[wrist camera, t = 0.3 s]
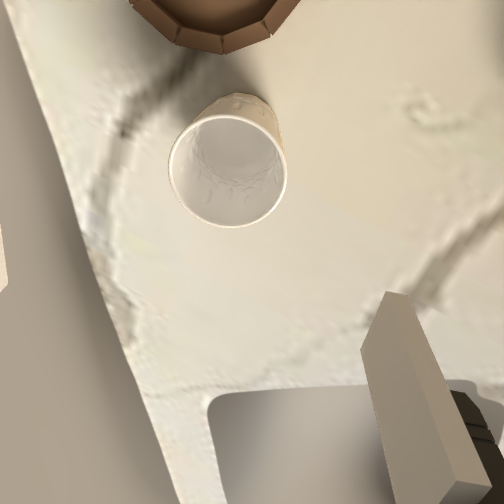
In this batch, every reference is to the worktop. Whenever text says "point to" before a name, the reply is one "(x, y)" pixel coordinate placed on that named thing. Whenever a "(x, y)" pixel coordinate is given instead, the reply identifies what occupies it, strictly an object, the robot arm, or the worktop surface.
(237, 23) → the ring tray
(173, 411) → the worktop surface
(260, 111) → the white cup
